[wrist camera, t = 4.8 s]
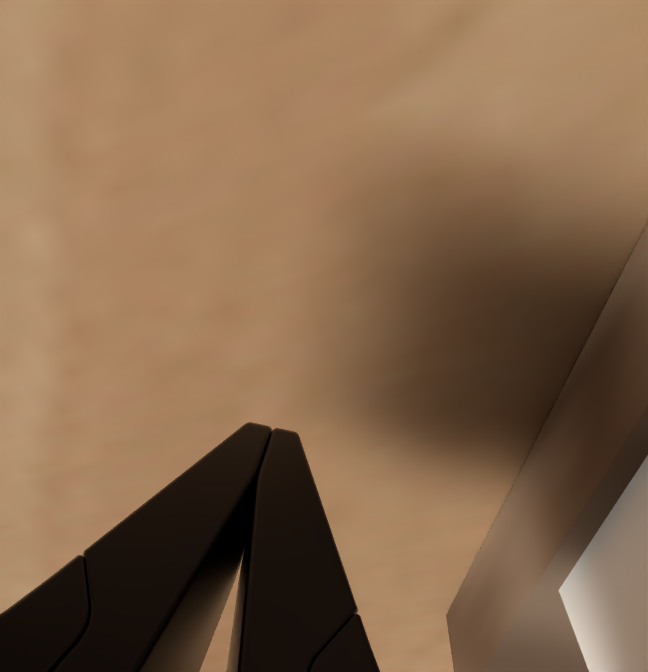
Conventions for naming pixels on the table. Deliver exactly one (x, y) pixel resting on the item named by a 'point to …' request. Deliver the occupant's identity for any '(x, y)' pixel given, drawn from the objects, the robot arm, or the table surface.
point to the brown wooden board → (561, 498)
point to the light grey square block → (614, 586)
